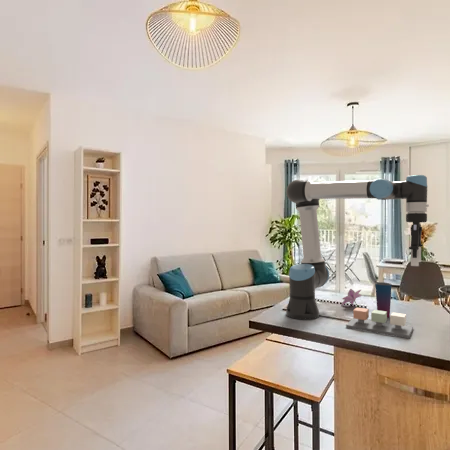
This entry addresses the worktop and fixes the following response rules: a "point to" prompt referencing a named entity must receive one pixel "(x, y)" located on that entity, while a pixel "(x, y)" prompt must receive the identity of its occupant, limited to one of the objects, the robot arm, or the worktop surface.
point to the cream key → (398, 319)
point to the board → (380, 327)
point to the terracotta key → (361, 313)
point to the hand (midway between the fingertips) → (416, 263)
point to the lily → (351, 297)
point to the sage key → (379, 316)
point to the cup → (383, 296)
